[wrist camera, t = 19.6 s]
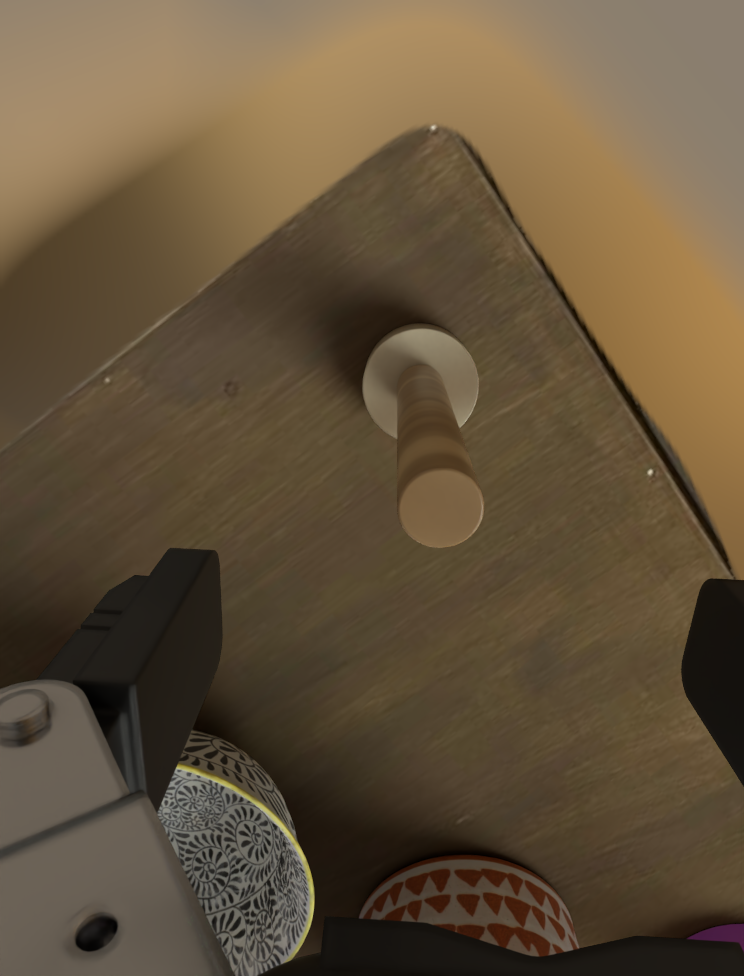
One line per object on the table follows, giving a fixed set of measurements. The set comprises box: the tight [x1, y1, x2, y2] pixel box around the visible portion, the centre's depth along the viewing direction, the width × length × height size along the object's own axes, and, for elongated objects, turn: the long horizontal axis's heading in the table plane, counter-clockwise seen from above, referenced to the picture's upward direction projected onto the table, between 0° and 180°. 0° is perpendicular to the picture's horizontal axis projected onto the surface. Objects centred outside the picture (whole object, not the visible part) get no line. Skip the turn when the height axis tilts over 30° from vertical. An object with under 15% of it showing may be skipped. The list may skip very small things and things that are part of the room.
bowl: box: [157, 729, 315, 976], centre depth 35 cm, size 16×16×8 cm
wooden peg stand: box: [362, 323, 484, 548], centre depth 23 cm, size 5×5×16 cm
